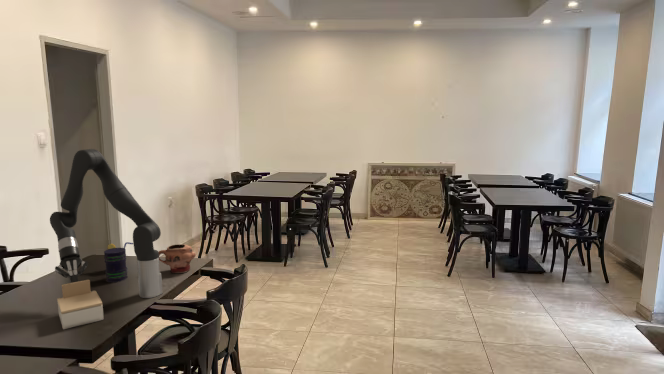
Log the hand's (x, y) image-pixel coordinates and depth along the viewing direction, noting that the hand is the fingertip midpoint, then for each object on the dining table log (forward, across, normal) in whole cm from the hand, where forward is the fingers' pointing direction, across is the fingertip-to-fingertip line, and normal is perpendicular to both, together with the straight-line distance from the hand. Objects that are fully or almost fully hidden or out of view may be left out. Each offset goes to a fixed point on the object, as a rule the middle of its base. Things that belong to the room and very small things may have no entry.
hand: (74, 284), depth 185 cm
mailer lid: (+11, 0, -6) cm, 13 cm away
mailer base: (+16, 0, -1) cm, 16 cm away
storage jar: (-12, +21, +27) cm, 36 cm away
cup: (-23, +26, +38) cm, 51 cm away
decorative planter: (-7, +49, +22) cm, 54 cm away
